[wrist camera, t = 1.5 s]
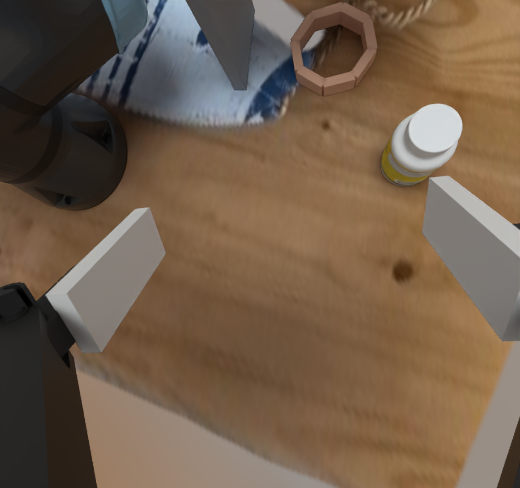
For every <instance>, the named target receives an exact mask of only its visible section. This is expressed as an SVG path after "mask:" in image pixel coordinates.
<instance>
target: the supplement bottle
mask: <svg viewBox="0 0 520 488" xmlns="http://www.w3.org/2000/svg"><path fill="white" fill-rule="evenodd" d="M461 132H462V121H461V118H460V116H459V114H458V113H457V112H456V111H455V110H454V109H453V108H451V107H449V106H447V105H443V104H431V105H427V106H425V107H423V108H421V109H420V110H418V111H417V112H416V113H414V114H412V115H410V116H408V117H407V118H405V119H404V120H403V121H402V122H401V123H400V124H399V125H398V126H397V128H396V129H395V131H394V133H393V135H392V137H391V139H390V140H389V142H388V144H387V146H386V148H385V150H384V151H383V154H382V157H381V170H382V172H383V174H384V176H385V177H386V178H387V179H388V180H389V181H390V182H392V183H393V184H396V185H399V186H412V185H415V184H417V183H419V182H421V181H423V180H424V179H425V178H427V177H428V176H429V175H430V174H432V173H433V172H434V171H436V170H437V169H438V168H439V167H441V166H442V165H443V164H445V163H446V162H447V161H448V160H449V159H450V158H451V156H452V155H453V154H454V152H455V150H456V147H457V143H458V139H459V137H460V135H461Z"/></svg>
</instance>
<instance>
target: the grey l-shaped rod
mask: <svg viewBox="0 0 520 488" xmlns="http://www.w3.org/2000/svg"><path fill="white" fill-rule="evenodd" d="M186 2H187V4H188V6H189V7H190V9H191V11H192V13H193V15H194V16H195V18H196V20H197V22H198V24H199V26H200V27H201V29H202V31H203V33H204V35H205V37H206V38H207V40H208V42H209V44H210V46H211V48H212V49H213V51H214V53H215V55H216V57H217V58H218V60H219V62H220V64H221V66H222V68H223V69H224V71H225V73H226V75H227V77H228V79H229V80H230V82H231V84H232V86H233V88H234V90H246V89H247V79H248V70H249V60H250V51H251V41H252V32H253V22H254V12H255V9H254V6H253V2H252V0H186Z"/></svg>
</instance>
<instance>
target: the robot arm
mask: <svg viewBox="0 0 520 488" xmlns="http://www.w3.org/2000/svg"><path fill="white" fill-rule="evenodd" d="M147 17H148V11H147V6H146V2H145V0H0V181H1V182H5V183H9V184H12V185H14V186H16V187H17V188H19V189H21V190H23V191H24V192H26V193H28V194H29V195H31V196H33V197H35V198H36V199H38V200H40V201H41V202H43V203H45V204H48V205H50V206H53V207H57V208H62V209H68V210H84V209H88V208H91V207H93V206H95V205H97V204H99V203H101V202H102V201H103V200H105V199H106V198H107V197H108V196H109V195H110V194H111V193H112V192H113V190H114V189H115V188H116V186H117V185H118V183H119V181H120V179H121V177H122V175H123V172H124V168H125V164H126V158H127V145H126V139H125V135H124V132H123V129H122V127H121V125H120V123H119V121H118V120H117V119H116V117H115V116H114V115H113V114H112V113H111V112H110V111H109V110H107V109H106V108H104V107H103V106H101V105H100V104H98V103H97V102H95V101H94V100H92V99H90V98H87V97H85V96H81V95H77V94H73V93H71V92H72V91H73V90H74V89H75V88H76V87H78V86H79V85H80V84H81V83H82V82H84V81H85V80H86V79H87V78H88V77H90V76H91V75H92V74H93V73H94V72H95V71H97V70H98V69H99V68H100V67H101V66H103V65H104V64H105V63H106V62H107V61H109V60H110V59H111V58H112V57H113V56H114V55H116V54H117V53H118V54H119V55H120V54H122V52H123V51H124V47H125V46H126V45H127V44H128V43H129V42H130V41H131V40H132V39H134V38H135V37H136V36H137V35H138V34H139V33H140V32H141V31H142V30H143V29H144V27H145V25H146V23H147ZM422 233H423V235H424V236H425V237H426V239H427V240H428V242H429V243H430V244H431V246H432V247H433V248H434V250H435V251H436V252H437V254H438V255H439V256H440V258H441V259H442V261H443V262H444V263H445V265H446V266H447V267H448V269H449V270H450V271H451V273H452V274H453V275H454V277H455V278H456V280H457V281H458V282H459V284H460V285H461V286H462V288H463V289H464V290H465V292H466V293H467V295H468V296H469V297H470V299H471V300H472V301H473V303H474V304H475V305H476V307H477V308H478V309H479V311H480V312H481V314H482V315H483V316H484V318H485V319H486V320H487V322H488V323H489V324H490V326H491V327H492V328H493V330H494V331H495V333H496V334H497V335H498V337H499V338H500V339H501V341H520V223H519V224H511V223H510V222H509V221H507V220H506V219H505V218H503V217H502V216H501V215H499V214H498V213H497V212H495V211H494V210H493V209H491V208H490V207H489V206H488V205H486V204H485V203H484V202H482V201H481V200H480V199H478V198H477V197H476V196H474V195H473V194H472V193H470V192H469V191H468V190H466V189H465V188H464V187H462V186H461V185H460V184H459V183H457V182H456V181H455V180H453V179H452V178H451V177H449V176H442V177H433V178H429V185H428V193H427V200H426V208H425V216H424V223H423V231H422ZM165 254H166V252H165V249H164V247H163V244H162V241H161V238H160V235H159V233H158V230H157V227H156V224H155V221H154V219H153V216H152V213H151V210H150V207H149V208H139V209H135V210H134V211H133V212H132V213H131V214H130V215H129V216H127V217H126V218H125V219H124V220H123V221H122V222H121V223H120V224H119V225H118V226H117V227H116V228H115V229H114V230H113V231H112V232H111V233H110V234H109V235H108V236H107V237H105V238H104V239H103V240H102V241H101V242H100V243H99V244H98V245H97V246H96V247H95V248H94V249H93V250H92V251H91V252H90V253H89V254H88V255H87V256H86V257H85V258H83V259H82V260H81V261H80V262H79V263H78V264H77V265H75V266H73V267H72V268H71V269H70V270H69V271H68V272H67V273H66V274H65V276H63V277H62V278H61V279H59V280H58V283H55V284H54V285H53V286H52V287H51V288H50V289H49V290H48V291H47V292H46V293H45V294H44V295H43V296H42V297H40V298H39V299H38V300H37V301H36V300H35V299H34V297H33V296H32V294H31V293H30V291H29V290H28V288H27V287H26V285H25V284H24V283H20V282H19V283H12V284H9V285H6V286H3V287H1V288H0V488H97V484H96V479H95V473H94V467H93V462H92V456H91V451H90V445H89V440H88V435H87V430H86V424H85V418H84V412H83V407H82V401H81V396H80V390H79V385H78V380H77V374H76V368H75V363H74V357H73V356H72V354H71V352H70V351H69V349H70V348H71V346H72V345H73V344H74V342H76V344H77V345H78V347H79V348H80V350H81V351H82V353H100V352H102V351H103V349H104V348H105V346H106V345H107V343H108V342H109V340H110V339H111V337H112V336H113V334H114V332H115V331H116V329H117V328H118V326H119V325H120V323H121V322H122V320H123V319H124V317H125V316H126V314H127V313H128V311H129V309H130V308H131V306H132V305H133V303H134V302H135V300H136V299H137V297H138V296H139V294H140V293H141V291H142V290H143V288H144V286H145V285H146V283H147V282H148V280H149V279H150V277H151V276H152V274H153V273H154V271H155V270H156V268H157V267H158V265H159V263H160V262H161V260H162V259H163V257H164V256H165ZM497 488H520V418H519V421H518V424H517V427H516V430H515V433H514V436H513V440H512V443H511V446H510V449H509V452H508V455H507V458H506V461H505V464H504V467H503V470H502V474H501V477H500V480H499V483H498V486H497Z"/></svg>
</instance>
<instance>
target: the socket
mask: <svg viewBox="0 0 520 488" xmlns="http://www.w3.org/2000/svg"><path fill="white" fill-rule="evenodd" d="M339 24H340V25H342V26H344V27H346V28H348V29H350V30H351V31H353V32H355V33H357V34H359V35H361V39H362V45H363V50H364V54H363V55H362V57H361V58H360V60H359V61H358V63H357V64H356V65H355V67H354V68H353V70H352V71H351V72H347V73H343V74H339V75H335V76H332V77H328V78H323V77H321V76H320V75H318V74H316V73H315V72H313V71H311V70H310V69H308V68H306V67H304V66H303V61H302V55H301V51H302V50H303V48H304V47H305V45H306V44H307V42H308V41H309V39H310V38H311V37H312V35H313V34H314V32H315V31H318V30H322V29H325V28H329V27H332V26H335V25H339ZM290 44H291V50H292V56H293V62H294V68H295V74H296V80H298V82H299V83H300V84H302V85H304V86H305V87H307V88H309V89H310V90H312V91H314V92H315V93H317V94H319V95H320V96H322V94H324V96H328V95H332V94H336V93H340V92H344V91H348V90H352V89H354V87H357V85H358V84H359V82H360V81H361V79H362V78H363V77H364V75H365V74H366V72H367V71H368V70H369V68H370V67H371V65H372V64H373V62H374V60H375V56H376V52H377V48H378V47H377V42H376V36H375V31H374V26H373V20H372V18H370V15H368V14H366V13H364V12H362V11H360V10H358V9H356V8H355V7H353V6H351V5H349V4H347V3H345V2H344V3H343V5H342V2H339V3H336V4H333V5H330V6H326V7H323V8H320V9H317V10H313V11H311V14H309V13H308V15H307V16H306V17H305V19H304V20H303V22H302V23H301V25H300V26H299V28H298V29H297V31H296V32H295V34H294V35H293V37H292V38H291V42H290Z"/></svg>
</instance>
